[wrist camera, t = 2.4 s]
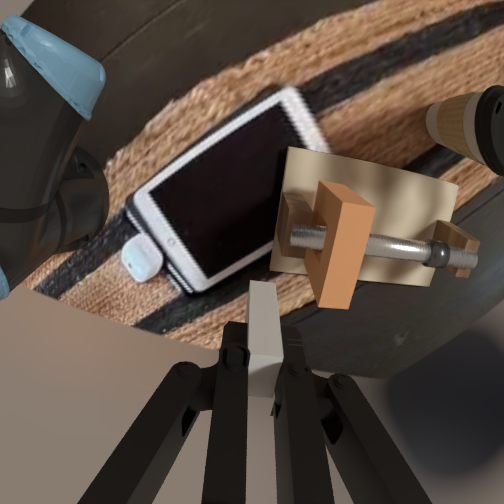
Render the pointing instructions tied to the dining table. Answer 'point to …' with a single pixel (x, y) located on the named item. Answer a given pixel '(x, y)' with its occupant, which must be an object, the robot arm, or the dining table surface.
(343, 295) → the orange square ring
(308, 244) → the pipe
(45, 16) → the dining table surface
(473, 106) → the coffee cup
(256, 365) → the robot arm
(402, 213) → the wooden rod stand
